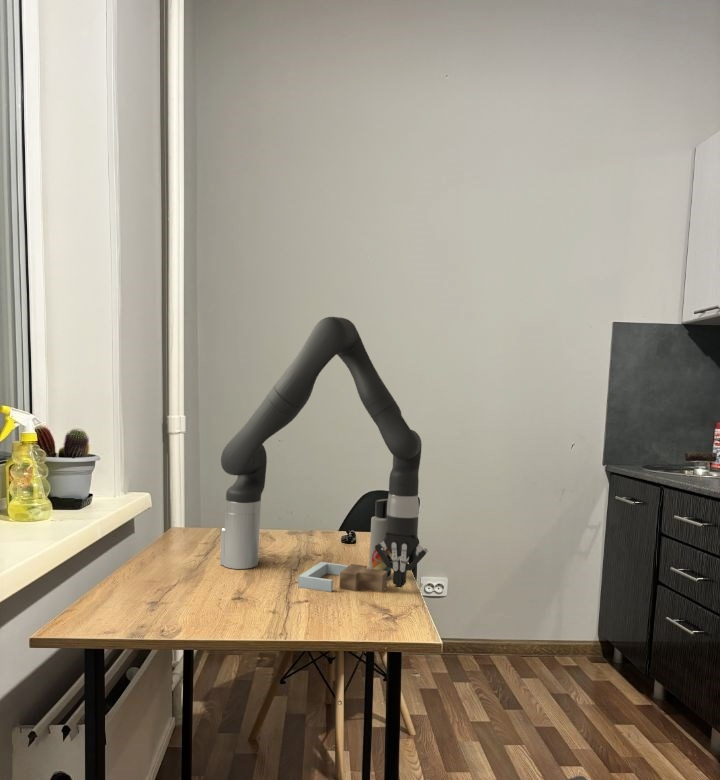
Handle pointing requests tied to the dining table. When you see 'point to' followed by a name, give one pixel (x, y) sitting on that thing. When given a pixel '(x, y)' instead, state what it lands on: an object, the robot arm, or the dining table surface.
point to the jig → (314, 575)
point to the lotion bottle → (379, 536)
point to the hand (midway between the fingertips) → (399, 586)
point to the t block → (363, 578)
